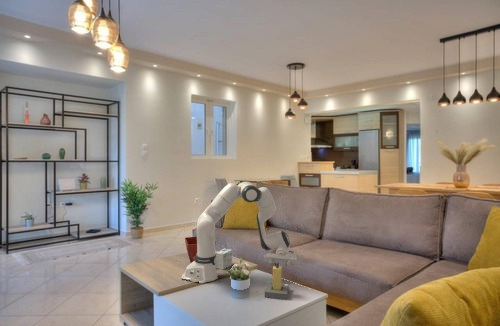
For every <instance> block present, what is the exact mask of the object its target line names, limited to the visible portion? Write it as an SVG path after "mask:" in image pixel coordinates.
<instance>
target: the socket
mask: <svg viewBox="0 0 500 326" xmlns="http://www.w3.org/2000/svg"><path fill="white" fill-rule="evenodd" d="M289 292H290V284H289V283H288V284H287V283H285V284H284V283H282V291H279V290H273V282H267V285H266V287H265V289H264V298H267V299H268V298H269V299H277V300H286V301H287V300H288V298H289Z"/></svg>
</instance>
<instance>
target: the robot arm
mask: <svg viewBox="0 0 500 326" xmlns="http://www.w3.org/2000/svg"><path fill="white" fill-rule="evenodd" d="M238 199H242V200H243V201H245V202H247V203H256V204H257V207H258V213H256V222H257V229H258V234H259V241H260V242H259V243H260V247H261V249H262V250H264V251H267V253H265V254H264V256H263V262H264V263H269V265H273V264H276V263H279V264H280V265H285V266H286V267H289V265H291V266H296V265H298V257H297V255H296V252H295V251H291V248H290V247H291V246H290V245H291V243H290V238H289V235H288V233H286V232H285V231H283V230H279V231H276V232H272V233H266V227H265V222H267V221H268V220H270V219H271V218H272V217H273V216H274V215H275V213H276V211H277V205H276V202H275V199H274V196H273V194H272V193H271V191H270V189H269V188H268V187H266V186H265V187H264V186H262V187H257V186H256V185H255V184H254V183H252V182H250V181H248V180H243V181H241V182H239V183H233V182H228V183H227V184H226V185H225V186H224V187H223V188H222V189H221V190H220V191H219V192H218V194H217V195H216V196H215V197H214V199H213V200H212V201H211V202H210V204H209V205H207V207H206V208H205V210H204V211H203V212H201V214H200V215H199V216H198V218H197V222H196V236H197V254H196V255H195V257H194V259H195V261H193V262H192V263H191V262H190V263H189V264H188V265H187V266H186V268H185V271H184V273H183V274H182V275H181V278H183V279H191V278H194V279H199V280H201V281H199V283H198V284H206V283H207V282H213V281H215V280H218V278H219V275H218V271H217V268H216V245H215V241H216V224H217V223H218V222H219V221H220V220H221V219H222V218H223V217H224V216H225V214H226V213H228V211H229V209H230V208H231V207H232V206H233V205H234V203H235V202H236V201H237V200H238ZM272 249H276V251H275V253H272V252H269V253H268V251H270V250H272ZM217 276H218V277H217Z"/></svg>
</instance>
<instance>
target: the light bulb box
mask: <svg viewBox="0 0 500 326" xmlns="http://www.w3.org/2000/svg"><path fill="white" fill-rule="evenodd" d="M215 254H216V267H217V268H216V269H218V268H221V269H220V270H222V269H224V268H225V269H227V268H230V267H231V266H233V249H230V248H225V247H224V248H222V249H221V250H218V251H215ZM226 267H227V268H226ZM225 269H224V270H225Z"/></svg>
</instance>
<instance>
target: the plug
mask: <svg viewBox="0 0 500 326" xmlns="http://www.w3.org/2000/svg"><path fill="white" fill-rule="evenodd" d="M282 272H283V266H282V265H281V266H280V265H279V263H275V265H273V267H272V283H273V290H279V291H282V284H283V277H282V276H283V273H282Z"/></svg>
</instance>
